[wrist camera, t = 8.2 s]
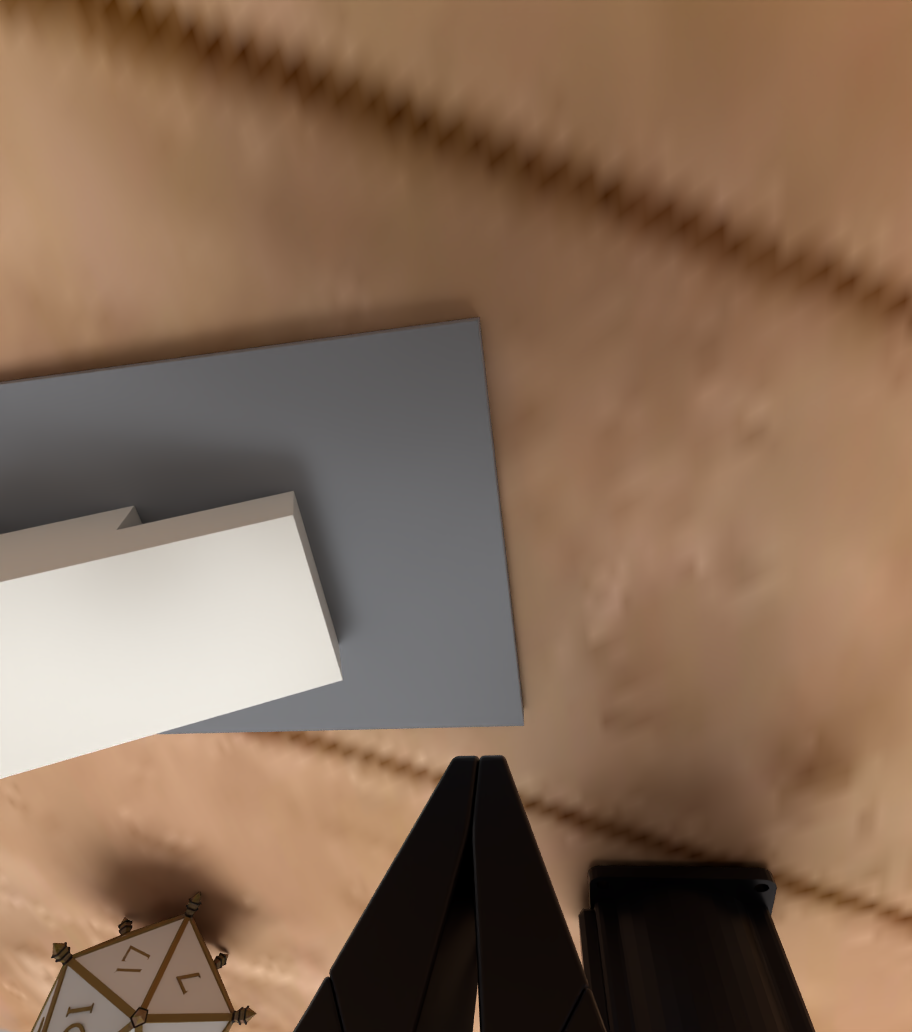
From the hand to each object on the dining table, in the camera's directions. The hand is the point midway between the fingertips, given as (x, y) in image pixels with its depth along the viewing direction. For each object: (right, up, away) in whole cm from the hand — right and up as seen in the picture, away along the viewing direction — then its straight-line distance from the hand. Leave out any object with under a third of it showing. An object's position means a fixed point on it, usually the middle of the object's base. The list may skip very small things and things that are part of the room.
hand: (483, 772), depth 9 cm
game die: (-13, -15, +17) cm, 26 cm away
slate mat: (-12, +2, +8) cm, 14 cm away
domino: (-4, +2, +5) cm, 7 cm away
